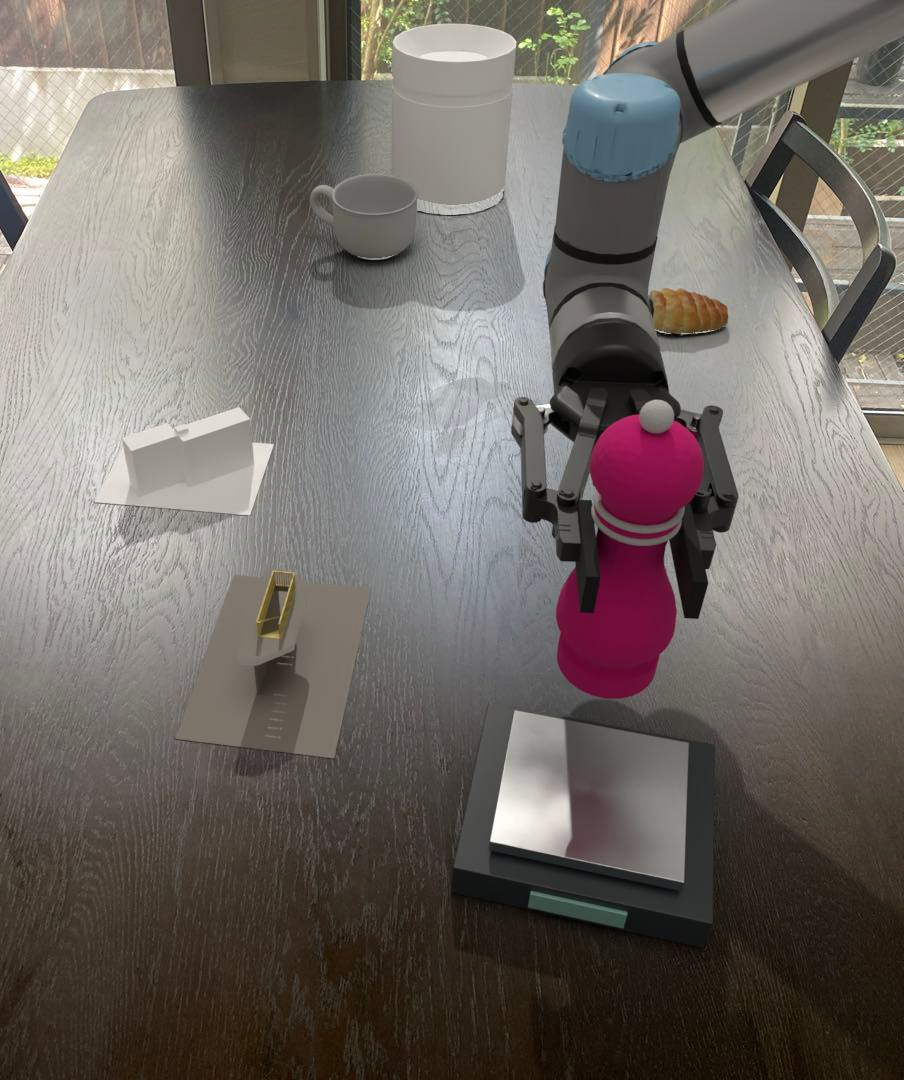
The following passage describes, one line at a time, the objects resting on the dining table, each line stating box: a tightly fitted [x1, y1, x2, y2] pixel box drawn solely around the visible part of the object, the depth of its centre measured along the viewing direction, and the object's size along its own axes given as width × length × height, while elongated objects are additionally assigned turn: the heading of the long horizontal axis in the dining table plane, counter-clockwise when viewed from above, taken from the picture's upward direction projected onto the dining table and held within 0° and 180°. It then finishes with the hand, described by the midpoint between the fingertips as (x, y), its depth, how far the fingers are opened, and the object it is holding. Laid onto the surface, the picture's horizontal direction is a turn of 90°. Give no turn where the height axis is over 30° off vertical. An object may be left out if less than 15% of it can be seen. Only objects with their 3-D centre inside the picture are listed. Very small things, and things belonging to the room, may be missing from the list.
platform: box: [174, 567, 372, 759], centre depth 84 cm, size 12×18×7 cm, turn 171°
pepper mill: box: [555, 400, 704, 700], centre depth 63 cm, size 7×7×20 cm
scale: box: [450, 702, 716, 949], centre depth 73 cm, size 16×14×3 cm
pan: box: [489, 710, 689, 891], centre depth 71 cm, size 12×11×1 cm
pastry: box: [648, 287, 729, 335], centre depth 123 cm, size 9×7×4 cm
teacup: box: [309, 173, 418, 258], centre depth 137 cm, size 14×11×8 cm
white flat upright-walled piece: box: [94, 406, 275, 516], centre depth 102 cm, size 15×11×6 cm
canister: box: [390, 23, 518, 205], centre depth 146 cm, size 16×16×20 cm
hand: (643, 597), depth 58 cm, fingers closed on pepper mill, 5 cm apart
